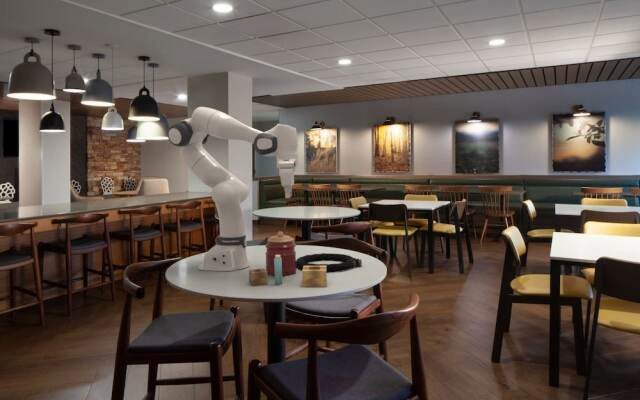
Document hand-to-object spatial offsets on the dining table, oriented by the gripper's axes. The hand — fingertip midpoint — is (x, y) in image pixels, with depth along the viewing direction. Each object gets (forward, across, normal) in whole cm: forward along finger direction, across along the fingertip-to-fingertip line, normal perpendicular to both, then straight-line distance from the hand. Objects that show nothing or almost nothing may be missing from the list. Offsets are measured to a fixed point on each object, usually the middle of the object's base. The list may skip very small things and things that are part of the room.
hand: (288, 197), depth 189 cm
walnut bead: (+32, +13, -12) cm, 37 cm away
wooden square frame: (+33, +14, +10) cm, 37 cm away
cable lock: (+33, -17, +16) cm, 40 cm away
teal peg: (+32, +14, -4) cm, 36 cm away
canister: (+33, -5, -5) cm, 33 cm away
